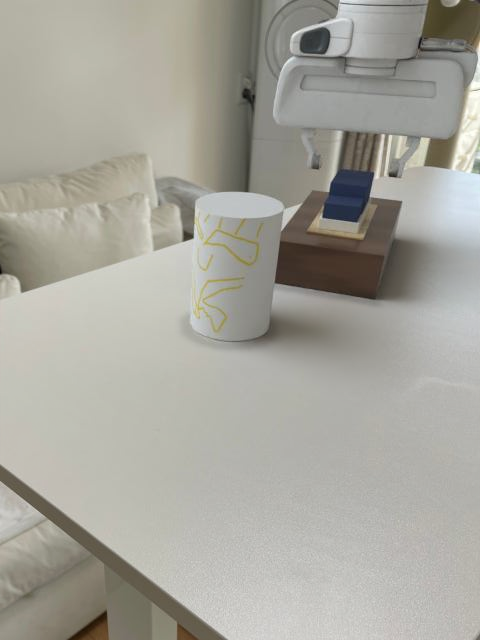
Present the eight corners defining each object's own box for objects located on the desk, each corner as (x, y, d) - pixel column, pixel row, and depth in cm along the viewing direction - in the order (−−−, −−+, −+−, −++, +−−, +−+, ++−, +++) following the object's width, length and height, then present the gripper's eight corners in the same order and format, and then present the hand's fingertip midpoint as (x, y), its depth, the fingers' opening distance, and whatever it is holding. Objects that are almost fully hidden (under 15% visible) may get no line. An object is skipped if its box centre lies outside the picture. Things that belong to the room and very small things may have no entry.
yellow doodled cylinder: (173, 323, 66) (177, 204, 59) (220, 299, 71) (229, 186, 64) (239, 349, 62) (251, 224, 55) (284, 321, 67) (300, 203, 60)
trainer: (333, 203, 84) (339, 167, 81) (369, 207, 82) (376, 171, 80) (317, 228, 75) (323, 189, 73) (357, 233, 74) (365, 194, 72)
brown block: (307, 226, 92) (312, 188, 89) (394, 238, 89) (403, 199, 86) (269, 281, 75) (274, 238, 72) (374, 299, 72) (385, 254, 69)
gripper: (483, 37, 68) (448, 174, 76) (290, 30, 74) (277, 157, 82) (482, 43, 63) (445, 189, 71) (276, 35, 69) (264, 170, 77)
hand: (354, 172), depth 77 cm, fingers open, 8 cm apart
